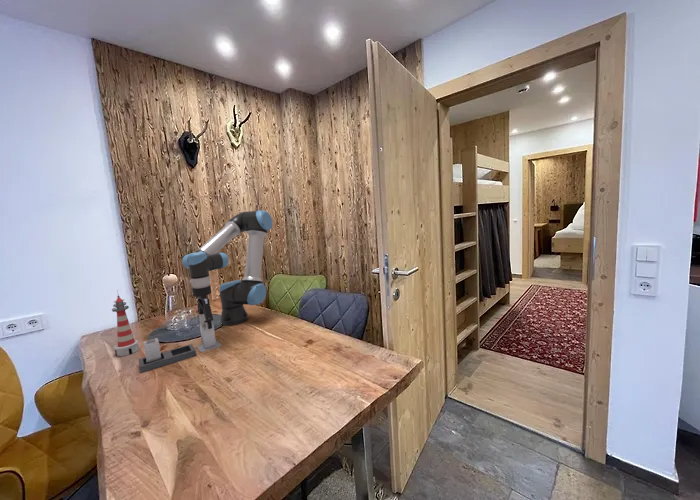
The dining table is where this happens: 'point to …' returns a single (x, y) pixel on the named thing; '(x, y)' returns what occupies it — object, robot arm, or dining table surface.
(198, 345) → the mat
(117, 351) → the miniature lighthouse
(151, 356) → the silver square post
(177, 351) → the rail
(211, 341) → the grey square peg
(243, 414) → the dining table surface
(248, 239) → the robot arm
